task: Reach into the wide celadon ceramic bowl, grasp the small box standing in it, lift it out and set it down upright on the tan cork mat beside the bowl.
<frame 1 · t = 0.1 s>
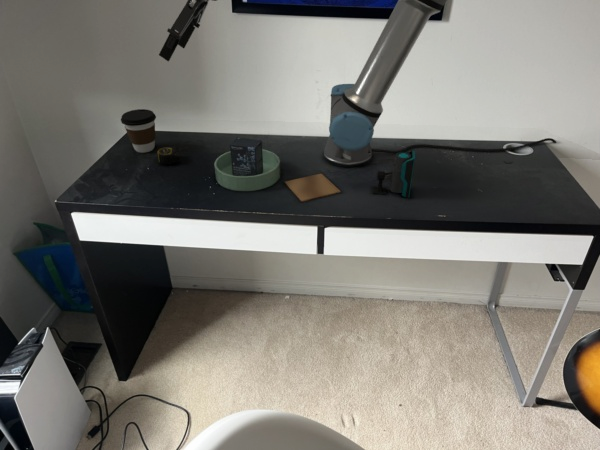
hand: (172, 51, 124), 36 cm above the table, tool tilted 35°, fingers open, 13 cm apart
tape measure: (171, 161, 151), on the table
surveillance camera: (391, 192, 133), on the table
bowl: (248, 175, 142), on the table
box: (248, 175, 142), resting on bowl
mat: (312, 187, 136), on the table
coffee cup: (145, 149, 159), on the table
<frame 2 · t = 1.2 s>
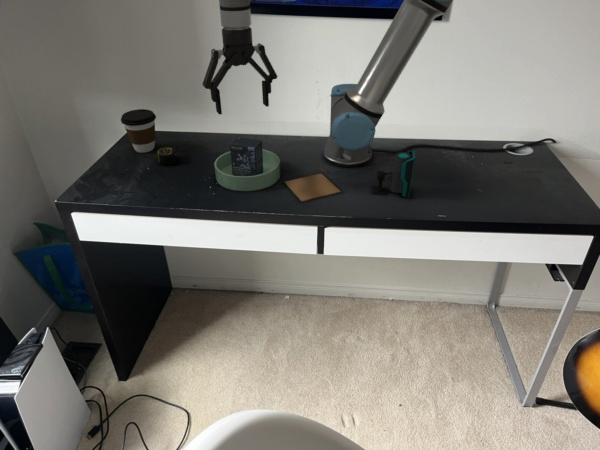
hand: (242, 108, 131), 21 cm above the table, tool pointing down, fingers open, 13 cm apart
nothing on the table moved.
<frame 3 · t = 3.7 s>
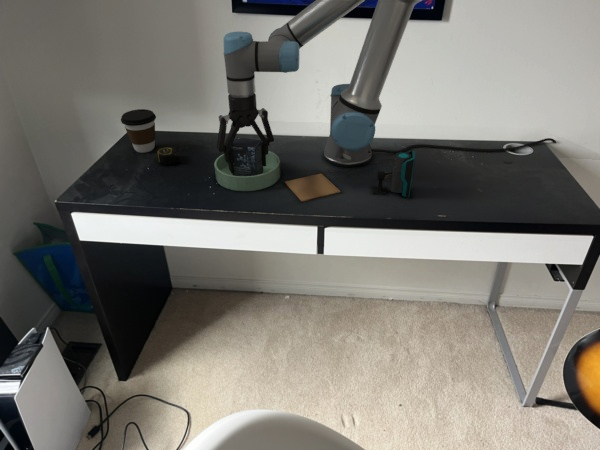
hand: (247, 167, 141), 3 cm above the table, tool pointing down, fingers closed on box, 9 cm apart
box: (248, 175, 142), resting on bowl, touching gripper
everything else where it was.
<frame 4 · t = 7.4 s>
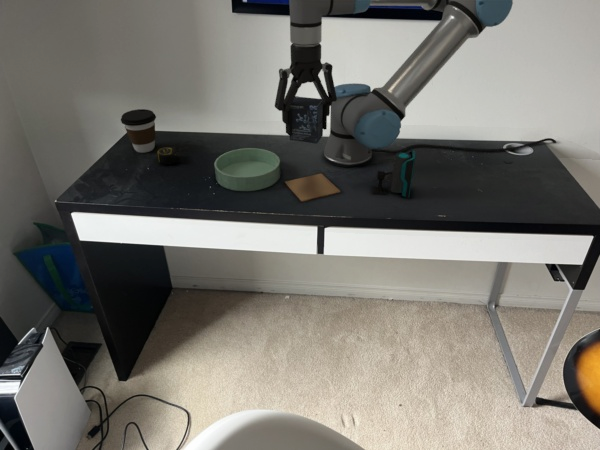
hand: (306, 130, 127), 17 cm above the table, tool pointing down, fingers closed on box, 9 cm apart
box: (306, 139, 128), point 15 cm above the table, touching gripper
everything else where it was.
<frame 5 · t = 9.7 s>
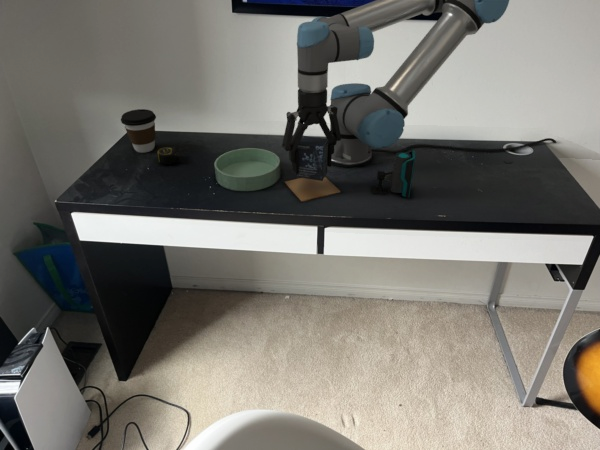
hand: (311, 168, 132), 6 cm above the table, tool pointing down, fingers closed on box, 9 cm apart
box: (311, 175, 133), point 4 cm above the table, touching gripper
everything else where it was.
when the fingers open (3 cm above the table, at t = 11.2 s): box stays where it is, resting on mat.
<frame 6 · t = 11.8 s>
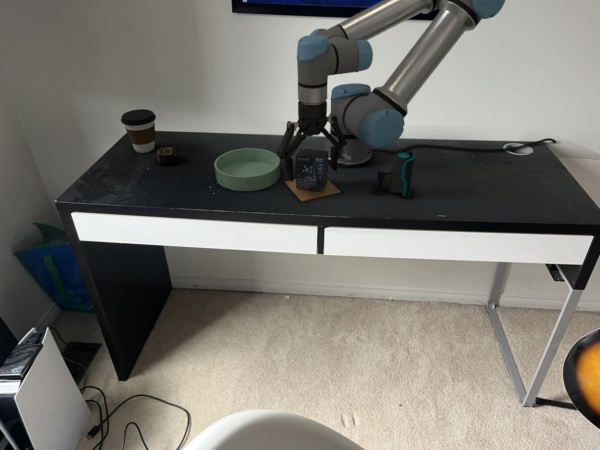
hand: (312, 174, 133), 4 cm above the table, tool pointing down, fingers open, 13 cm apart
box: (311, 187, 135), resting on mat
everything else where it was.
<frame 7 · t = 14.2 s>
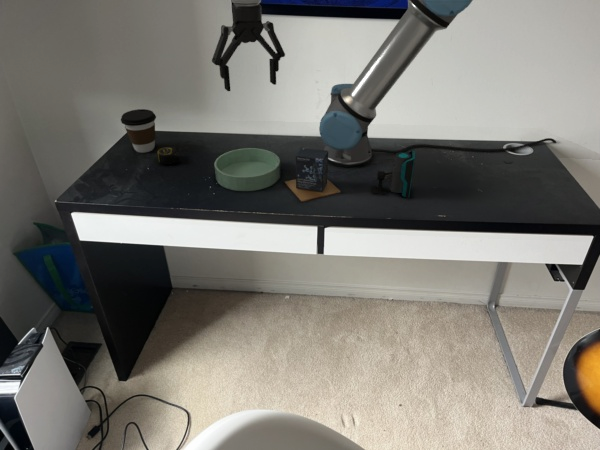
hand: (250, 86, 132), 25 cm above the table, tool pointing down, fingers open, 13 cm apart
nothing on the table moved.
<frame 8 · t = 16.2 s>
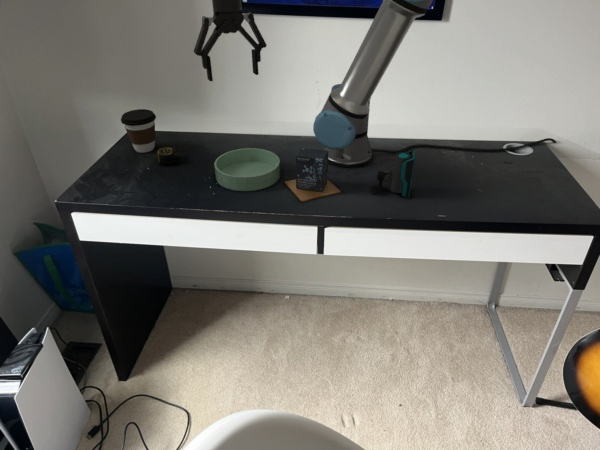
hand: (233, 76, 135), 27 cm above the table, tool pointing down, fingers open, 13 cm apart
nothing on the table moved.
at the end: box inside the target area on the mat (0.1 cm from its centre), point 0.2 cm above the mat's base; box tilted 0°; box touching mat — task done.
